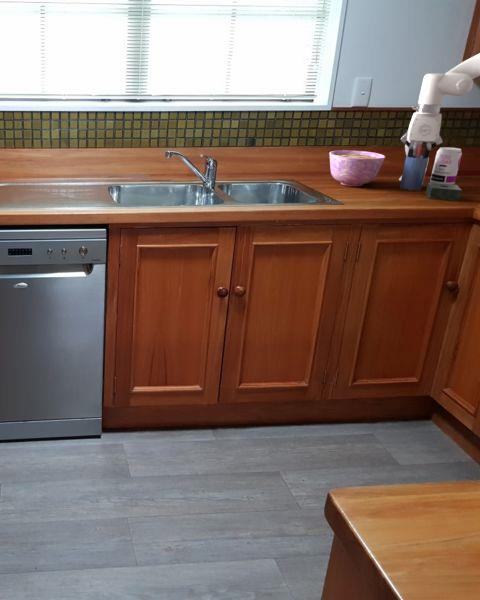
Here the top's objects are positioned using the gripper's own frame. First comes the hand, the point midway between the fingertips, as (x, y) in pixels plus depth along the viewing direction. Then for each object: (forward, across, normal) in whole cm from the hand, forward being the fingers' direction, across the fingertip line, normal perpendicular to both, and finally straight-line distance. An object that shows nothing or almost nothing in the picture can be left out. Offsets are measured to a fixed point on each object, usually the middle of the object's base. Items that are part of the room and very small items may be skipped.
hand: (416, 159), depth 228 cm
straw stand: (+11, +9, -12) cm, 19 cm away
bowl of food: (+11, -21, -1) cm, 24 cm away
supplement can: (+11, +11, +5) cm, 16 cm away
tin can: (+11, 0, 0) cm, 11 cm away
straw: (+10, 0, 0) cm, 11 cm away
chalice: (+11, 0, +17) cm, 20 cm away
